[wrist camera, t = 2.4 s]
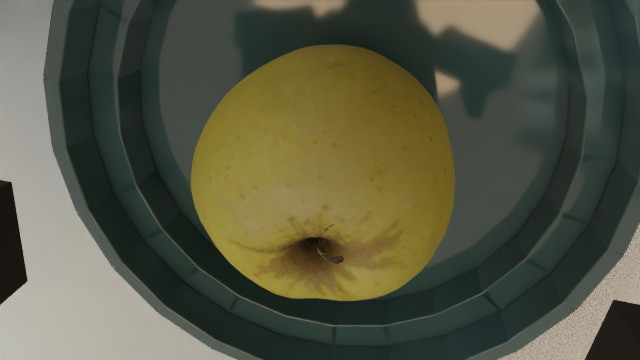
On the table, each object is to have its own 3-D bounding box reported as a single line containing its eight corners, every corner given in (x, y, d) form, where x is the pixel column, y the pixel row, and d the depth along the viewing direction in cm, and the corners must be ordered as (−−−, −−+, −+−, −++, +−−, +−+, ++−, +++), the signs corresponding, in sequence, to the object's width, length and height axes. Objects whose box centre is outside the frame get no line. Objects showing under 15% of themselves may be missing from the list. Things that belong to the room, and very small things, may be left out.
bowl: (87, -209, 17) (0, -252, 13) (723, -135, 15) (823, -160, 11) (121, 276, 26) (74, 330, 22) (520, 359, 24) (540, 432, 20)
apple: (258, -34, 17) (262, 82, 8) (447, 64, 19) (591, 227, 11) (178, 152, 20) (125, 364, 12) (347, 214, 23) (399, 420, 15)
